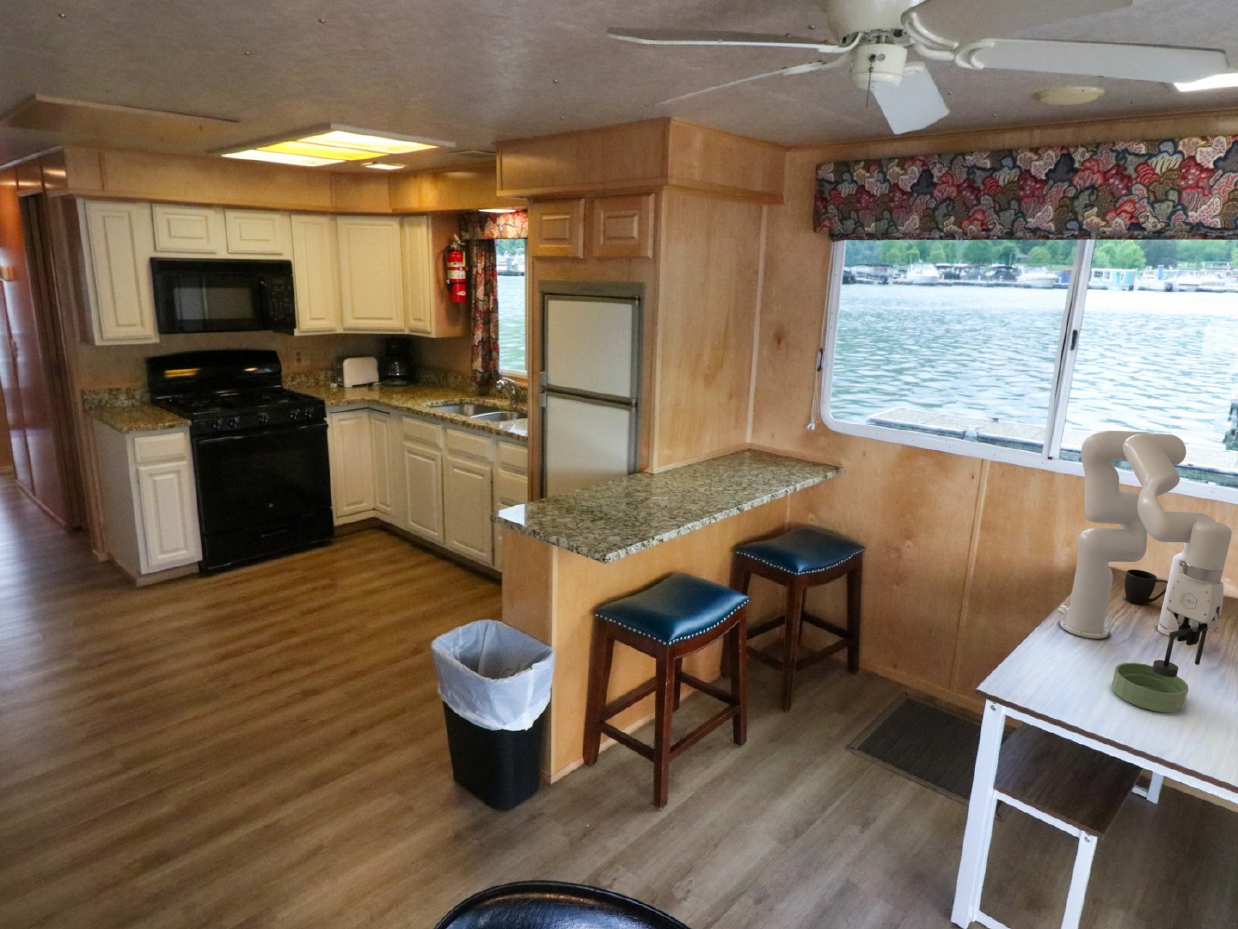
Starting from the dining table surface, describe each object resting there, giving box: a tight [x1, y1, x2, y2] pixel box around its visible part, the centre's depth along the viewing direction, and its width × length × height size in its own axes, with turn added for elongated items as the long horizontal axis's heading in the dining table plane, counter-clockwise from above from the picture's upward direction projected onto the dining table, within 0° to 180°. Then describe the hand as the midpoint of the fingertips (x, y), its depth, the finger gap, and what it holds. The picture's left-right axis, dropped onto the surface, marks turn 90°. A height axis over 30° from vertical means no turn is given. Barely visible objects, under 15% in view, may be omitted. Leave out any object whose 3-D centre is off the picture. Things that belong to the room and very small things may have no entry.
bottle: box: [1157, 542, 1194, 639], centre depth 229 cm, size 8×8×28 cm
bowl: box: [1111, 662, 1189, 713], centre depth 195 cm, size 15×15×6 cm
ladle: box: [1152, 628, 1209, 677], centre depth 192 cm, size 15×5×11 cm, turn 111°
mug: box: [1124, 568, 1168, 606], centre depth 252 cm, size 8×12×10 cm
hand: (1186, 642), depth 192 cm, fingers closed on ladle, 1 cm apart
